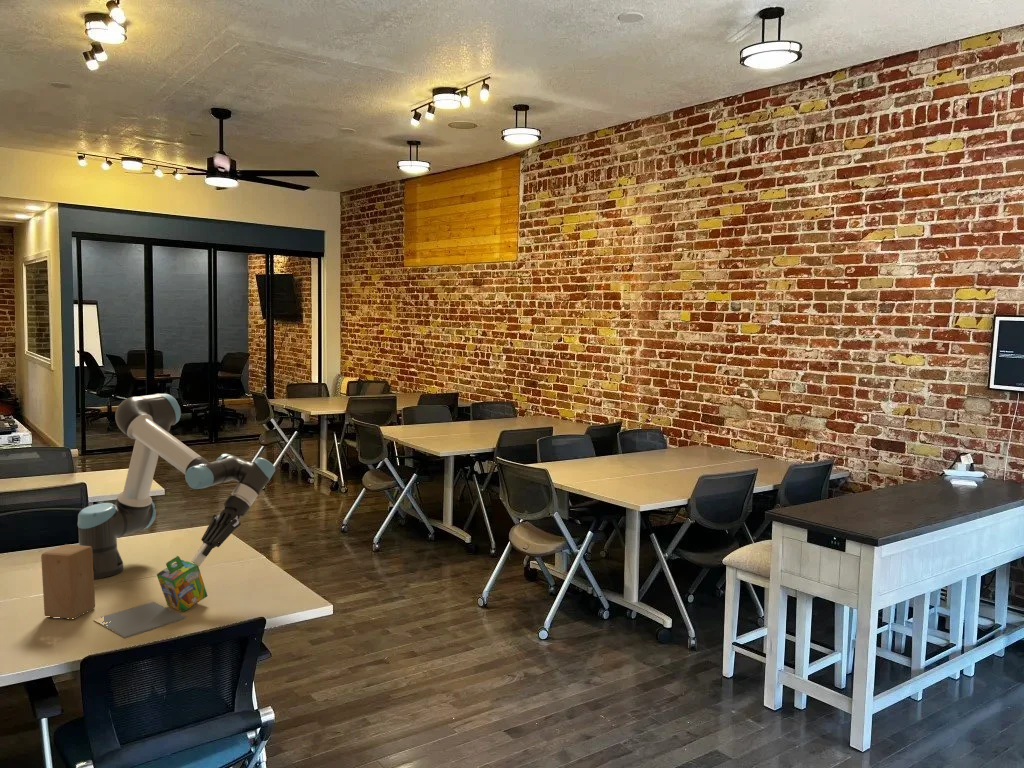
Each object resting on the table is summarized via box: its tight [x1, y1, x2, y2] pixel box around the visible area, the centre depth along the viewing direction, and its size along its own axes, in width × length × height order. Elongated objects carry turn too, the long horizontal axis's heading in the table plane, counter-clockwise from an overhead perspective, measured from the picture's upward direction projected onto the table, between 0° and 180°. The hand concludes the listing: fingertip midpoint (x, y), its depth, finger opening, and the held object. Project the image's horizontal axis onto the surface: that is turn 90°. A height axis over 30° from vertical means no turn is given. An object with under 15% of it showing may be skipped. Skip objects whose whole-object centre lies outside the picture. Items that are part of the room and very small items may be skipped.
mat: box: [100, 601, 187, 639], centre depth 227 cm, size 20×18×1 cm
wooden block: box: [40, 543, 96, 619], centre depth 231 cm, size 10×10×20 cm
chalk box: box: [156, 555, 208, 613], centre depth 236 cm, size 9×9×15 cm
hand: (195, 563), depth 238 cm, fingers closed
